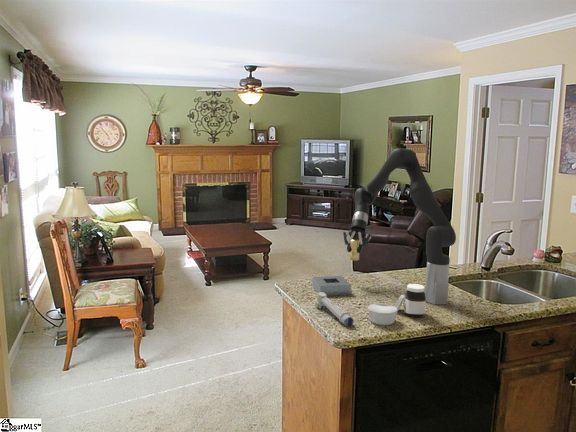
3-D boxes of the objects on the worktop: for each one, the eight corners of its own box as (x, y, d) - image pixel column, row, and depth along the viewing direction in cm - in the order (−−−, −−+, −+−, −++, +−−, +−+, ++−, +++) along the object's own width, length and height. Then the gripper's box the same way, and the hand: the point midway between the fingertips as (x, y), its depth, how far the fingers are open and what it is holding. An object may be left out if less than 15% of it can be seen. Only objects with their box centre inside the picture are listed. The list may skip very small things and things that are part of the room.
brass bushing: (360, 260, 229) (361, 240, 227) (351, 260, 228) (352, 240, 226) (357, 258, 233) (357, 238, 231) (348, 258, 232) (349, 238, 230)
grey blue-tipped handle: (343, 318, 177) (313, 289, 199) (341, 334, 179) (312, 303, 201) (355, 316, 179) (324, 287, 201) (353, 331, 181) (323, 302, 203)
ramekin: (394, 316, 190) (395, 303, 189) (398, 327, 179) (399, 314, 178) (366, 315, 191) (366, 302, 190) (368, 325, 180) (368, 312, 179)
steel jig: (350, 294, 216) (350, 284, 215) (320, 295, 213) (320, 285, 212) (341, 284, 229) (341, 275, 228) (312, 286, 226) (312, 276, 226)
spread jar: (426, 319, 188) (428, 290, 186) (397, 318, 188) (399, 289, 186) (419, 308, 199) (421, 281, 197) (392, 307, 200) (393, 280, 198)
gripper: (344, 217, 236) (338, 246, 227) (373, 219, 232) (368, 249, 223) (346, 226, 242) (340, 254, 233) (374, 228, 238) (369, 257, 228)
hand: (353, 251), depth 228 cm, fingers closed on brass bushing, 4 cm apart
